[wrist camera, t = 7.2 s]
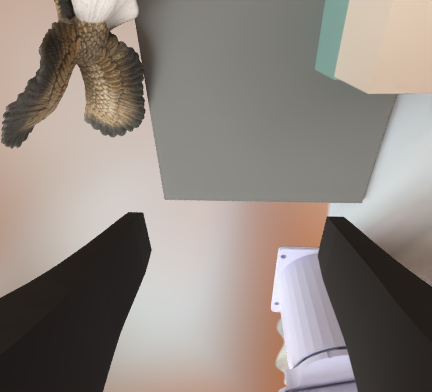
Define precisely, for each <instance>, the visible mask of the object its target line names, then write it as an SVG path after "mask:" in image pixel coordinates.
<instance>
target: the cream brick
mask: <svg viewBox="0 0 432 392" xmlns="http://www.w3.org/2000/svg"><path fill="white" fill-rule="evenodd" d="M334 77H336V78H338V79H340V80H342V81H344V82H345V83H347V84H349V85H351V86H353V87H355V88H357V89H359V90H361V91H363V92H365V93H367V94H412V93H432V0H349V4H348V9H347V14H346V19H345V24H344V29H343V34H342V39H341V44H340V49H339V54H338V59H337V64H336V69H335V74H334Z"/></svg>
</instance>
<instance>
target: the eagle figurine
mask: <svg viewBox="0 0 432 392" xmlns="http://www.w3.org/2000/svg"><path fill="white" fill-rule="evenodd" d="M54 1H55V3H56V8H57V12H58V20H59V21H58V23H56V22H55V23H52V29H49V30H48V32H47V33H46V35H45V37H44V38H43V42H42V44H41V46H40V47H39V54H40V55H41V60H40V69H39V70H38V71H37V72H36V76H35V77H34V78H32V79H30V80H29V81H28V85H27V86H26V88H25V91H24V92H23V93H21V94H19V95H18V98H17V101H15V102H13V103H11V104H9V105H8V106H7V107H6V112H5V113H4V114H3V118H4V119H5V120H4V121H3V122H2V124H3V125H4V126H3V127H2V141H1V143H3V144H5V146H6V147H10V148H11V149H12V148H13V147H14V146H15V147H17V148H18V147H20V146H21V144H22V142H23V141H25V140H26V139H27V137H28V134H29V133H31V132H32V130H33V128H34V126H35V125H36V124H37V123H39V122H40V121H41V120H44V119H45V118H46V117H47V116H48V115H50V114H51V113H52V112H53V111H54V110H55V108H56V107H57V105H58V103H59V101H60V100H61V98H62V96H63V94H64V92H65V90H66V88H67V86H68V81H69V79H70V76H71V74H72V71H73V68H74V67H75V65H76V64H77V65H78V66H79V68H80V71H81V73H82V77H83V80H84V84H85V91H86V101H87V104H86V108H85V114H84V117H85V122H87V123H90V124H91V125H92V127H93V128H94V129H96V130H100V132H101V133H102V134H103V135H109V136H110V137H115V136H116V135H120V136H123V135H125V133H126V130H128V131H130V132H131V131H133V129H134V127H135V128H137V127H139V125H140V124H141V122H142V119H144V113H145V109H144V102H145V100H144V98H143V97H142V95H143V84H142V81H143V79H144V77H143V74H144V70H143V66H142V63H141V62H140V60H139V55H138V53H136V52H135V51H134V49H133V48H131V47H130V48H129V47H127V46H126V44H125V43H124V42H119V41H118V39H117V37H116V35H114V34H111V32H110V30H111V29H113V28H115V27H117V26H118V25H121V24H122V23H125V22H127V21H130V20H132V19H134V18H136V17H137V16H138V14H139V13H138V11H139V8H138V4H137V1H136V0H54Z"/></svg>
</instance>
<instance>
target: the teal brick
mask: <svg viewBox="0 0 432 392" xmlns="http://www.w3.org/2000/svg"><path fill="white" fill-rule="evenodd" d="M348 4H349V0H325V5H324V12H323V18H322V25H321V31H320V38H319V44H318V51H317V57H316V64H315V70H317V71H319V72H320V73H322V74H324V75H326V76H328V77H330V78H332V79H333V80H340V79H338V78H336V77H334V74H335V69H336V64H337V59H338V54H339V49H340V44H341V39H342V34H343V29H344V24H345V19H346V14H347V9H348Z"/></svg>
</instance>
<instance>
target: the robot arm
mask: <svg viewBox="0 0 432 392" xmlns="http://www.w3.org/2000/svg"><path fill="white" fill-rule="evenodd" d="M150 254H151V245H150V241H149V237H148V232H147V228H146V223H145V219H144V214H143V213H137V212H136V213H135V212H134V213H133V212H128V213H127V214H125V215H124V216H123V217H121V218H120V219H119V220H118V221H116V222H115V223H114V224H112V225H111V226H110V227H109V228H107V229H106V230H105V231H104V232H102V233H101V234H100V235H98V236H97V237H96V238H94V239H93V240H92V241H90V242H89V243H88V244H87V245H85V246H84V247H82V248H81V249H79V250H78V251H77V252H75V253H74V254H72V255H71V256H70V257H68V258H67V259H65V260H64V261H63V262H61V263H60V264H58V265H57V266H55V267H53V268H52V269H51V270H49V271H47V272H46V273H44V274H42V275H41V276H39V277H37V278H36V279H34V280H32V281H31V282H29V283H27V284H25V285H24V286H22V287H20V288H18V289H16V290H14V291H13V292H11V293H9V294H7V295H5V296H3V297H1V298H0V392H103V390H104V386H105V383H106V379H107V375H108V372H109V369H110V365H111V362H112V359H113V355H114V352H115V349H116V346H117V342H118V339H119V336H120V333H121V330H122V328H123V325H124V323H125V320H126V318H127V316H128V313H129V311H130V308H131V306H132V304H133V301H134V299H135V297H136V294H137V292H138V289H139V287H140V285H141V282H142V279H143V277H144V275H145V272H146V269H147V265H148V262H149V258H150ZM282 255H284V256H282ZM271 310H272V311H274V312H281V317H282V324H283V331H284V338H285V346H286V353H287V360H288V365H289V369H290V370H286V371H285V376H286V384H287V387H283V388H281V389H280V390H279V391H278V392H432V287H431V286H430V285H429V284H427V283H426V282H424V281H423V280H421V279H420V278H419V277H417V276H416V275H415V274H413V273H412V272H411V271H409V270H408V269H407V268H405V267H404V266H403V265H401V264H400V263H399V262H397V261H396V260H395V259H394V258H392V257H391V256H390V255H389V254H387V253H386V252H385V251H384V250H382V249H381V248H380V247H379V246H378V245H376V244H375V243H374V242H373V241H372V240H371V239H369V238H368V237H367V236H366V235H365V234H364V233H362V232H361V231H360V230H359V229H358V228H357V227H355V226H354V225H353V224H352V223H351V222H349V221H348V220H347V219H346V218H344V217H327V219H326V223H325V227H324V231H323V235H322V239H321V243H320V247H295V246H282V247H280V248H279V250H278V256H277V264H276V272H275V279H274V287H273V295H272V303H271Z"/></svg>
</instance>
